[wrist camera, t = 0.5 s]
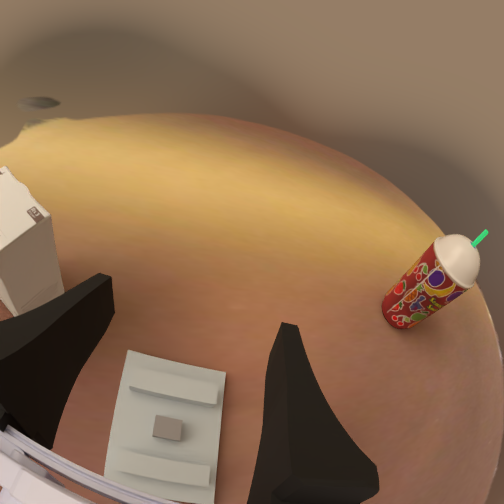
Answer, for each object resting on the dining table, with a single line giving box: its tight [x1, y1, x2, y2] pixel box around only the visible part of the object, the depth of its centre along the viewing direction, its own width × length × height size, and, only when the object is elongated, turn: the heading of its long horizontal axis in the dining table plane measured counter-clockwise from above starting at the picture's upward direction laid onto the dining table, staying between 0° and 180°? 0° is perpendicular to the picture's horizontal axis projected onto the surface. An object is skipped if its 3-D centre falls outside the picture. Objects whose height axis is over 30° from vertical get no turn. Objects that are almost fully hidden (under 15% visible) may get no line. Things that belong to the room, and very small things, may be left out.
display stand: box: [104, 350, 226, 504], centre depth 24 cm, size 14×10×3 cm
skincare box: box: [0, 166, 65, 317], centre depth 22 cm, size 8×6×15 cm
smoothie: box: [382, 229, 488, 329], centre depth 38 cm, size 8×8×20 cm
